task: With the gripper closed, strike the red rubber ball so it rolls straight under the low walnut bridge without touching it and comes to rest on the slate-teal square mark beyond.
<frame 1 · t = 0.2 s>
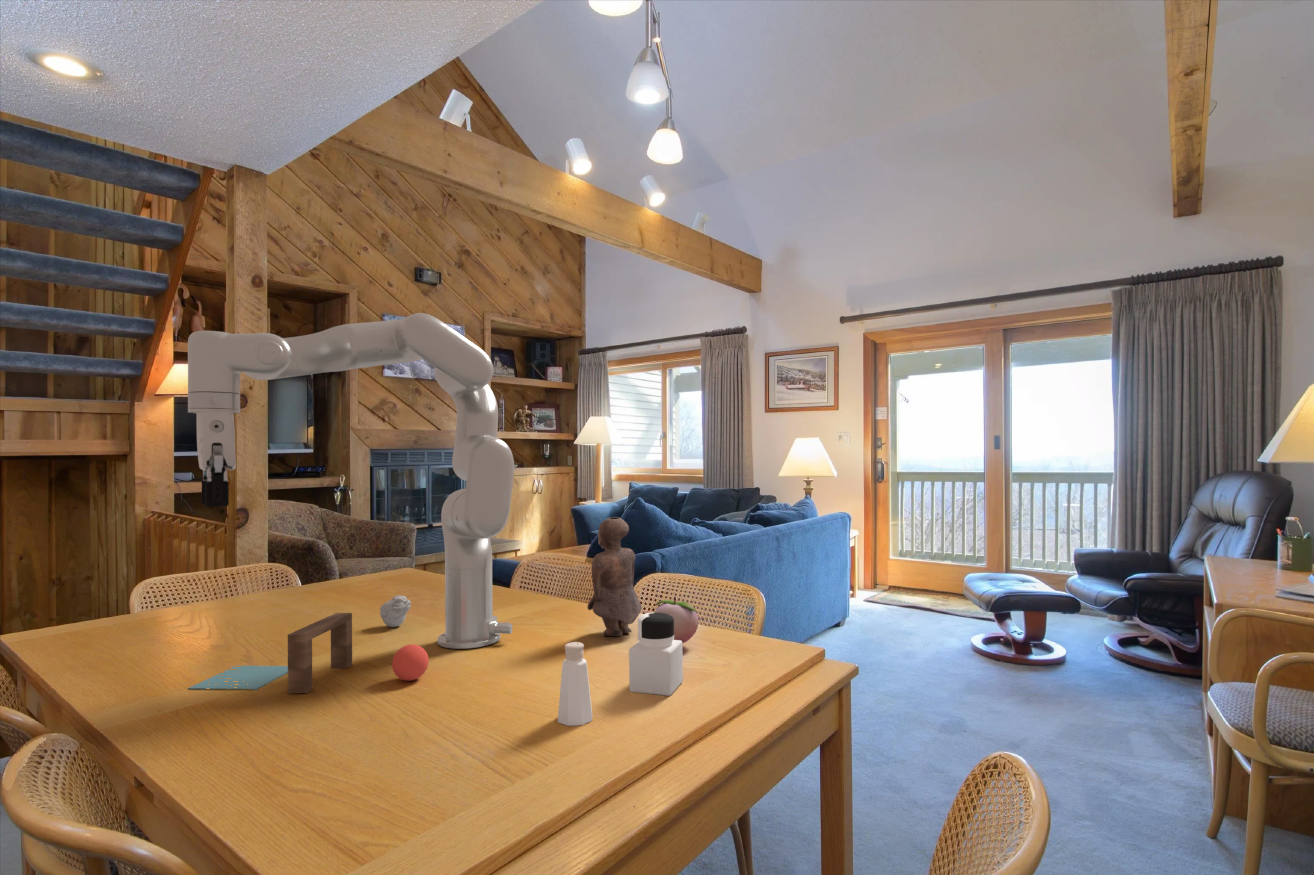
hand: (214, 504, 118), 31 cm above the table, tool pointing down, fingers open, 9 cm apart
decorative fruit: (675, 648, 138), on the table
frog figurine: (395, 627, 156), on the table
medicine bottle: (656, 688, 115), on the table
ball: (410, 662, 120), on the table
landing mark: (245, 677, 122), on the table
pepper shaker: (575, 720, 102), on the table
clay figurine: (616, 635, 147), on the table
bridge: (322, 678, 121), on the table
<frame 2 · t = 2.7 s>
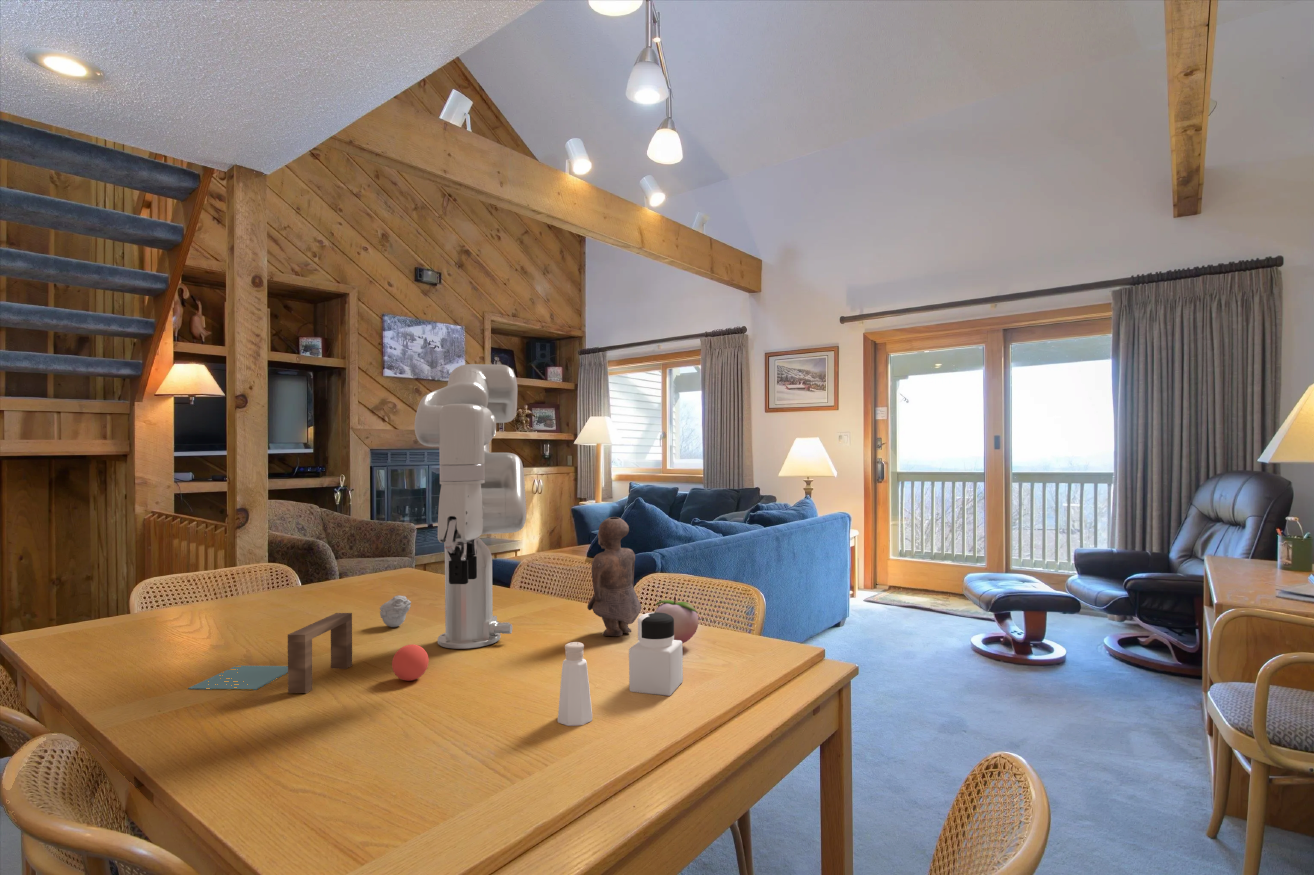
hand: (463, 580, 119), 17 cm above the table, tool pointing down, fingers open, 3 cm apart
nothing on the table moved.
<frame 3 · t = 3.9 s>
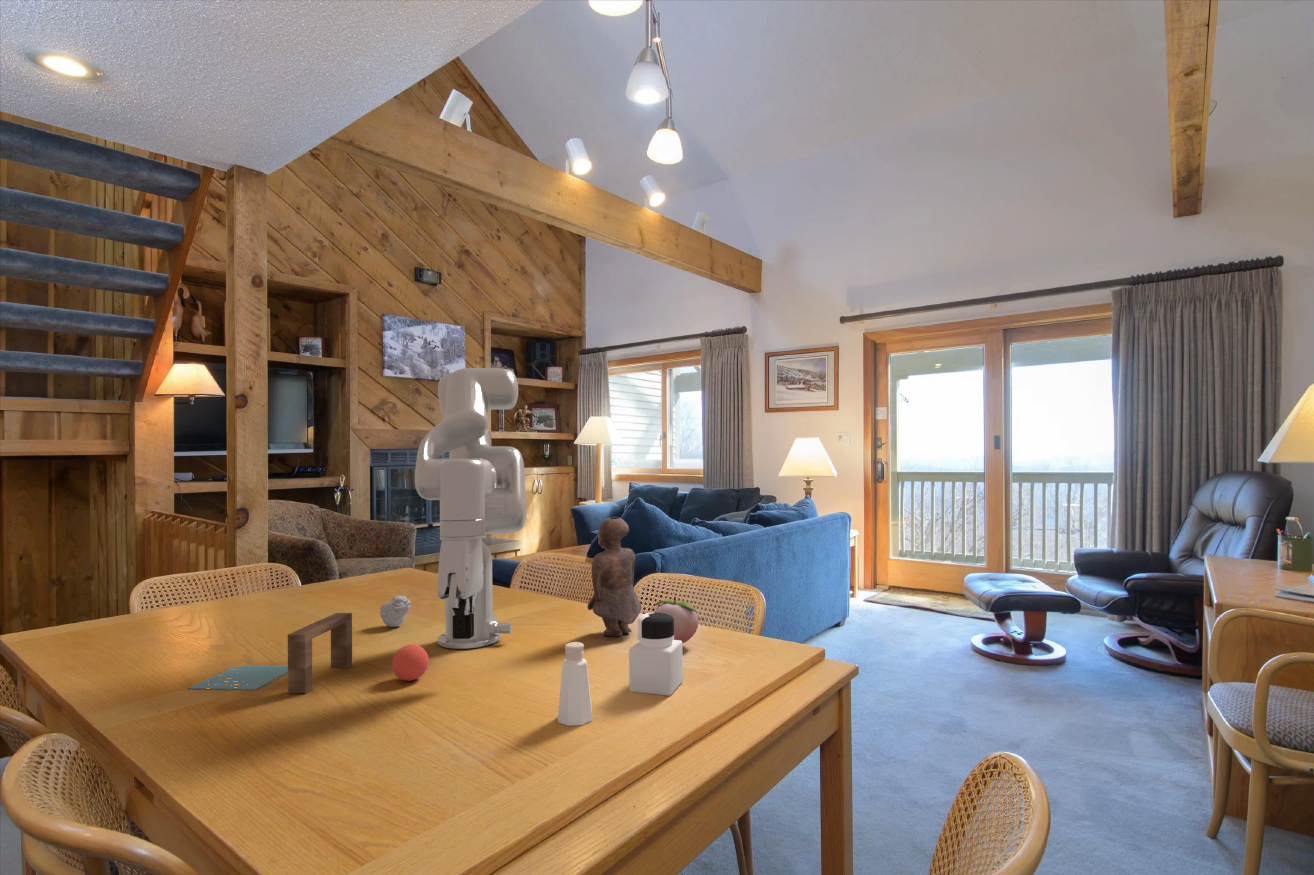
hand: (463, 637, 118), 8 cm above the table, tool pointing down, fingers closed
nothing on the table moved.
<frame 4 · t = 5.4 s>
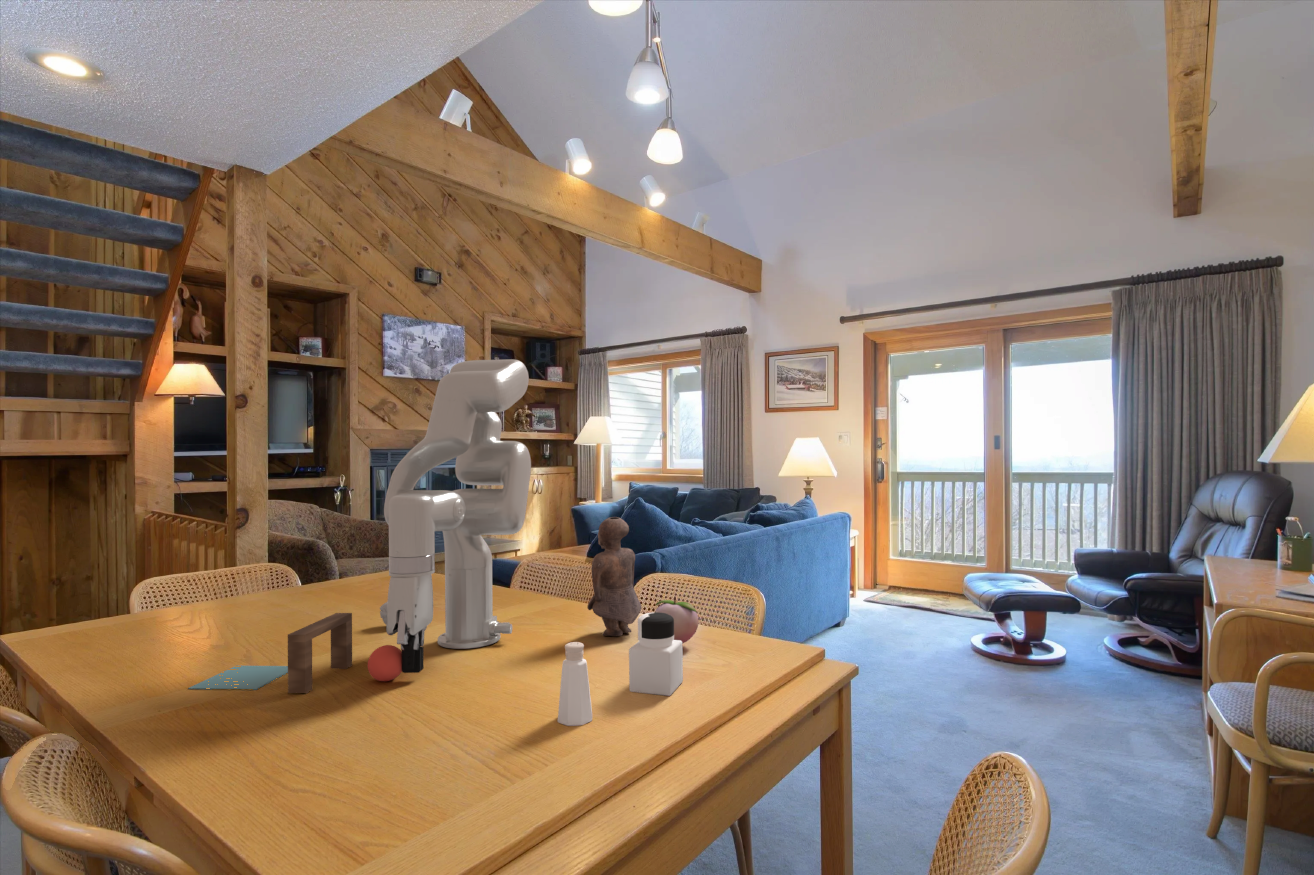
hand: (412, 670, 120), 2 cm above the table, tool pointing down, fingers closed
ball: (386, 662, 120), on the table
everything else where it was.
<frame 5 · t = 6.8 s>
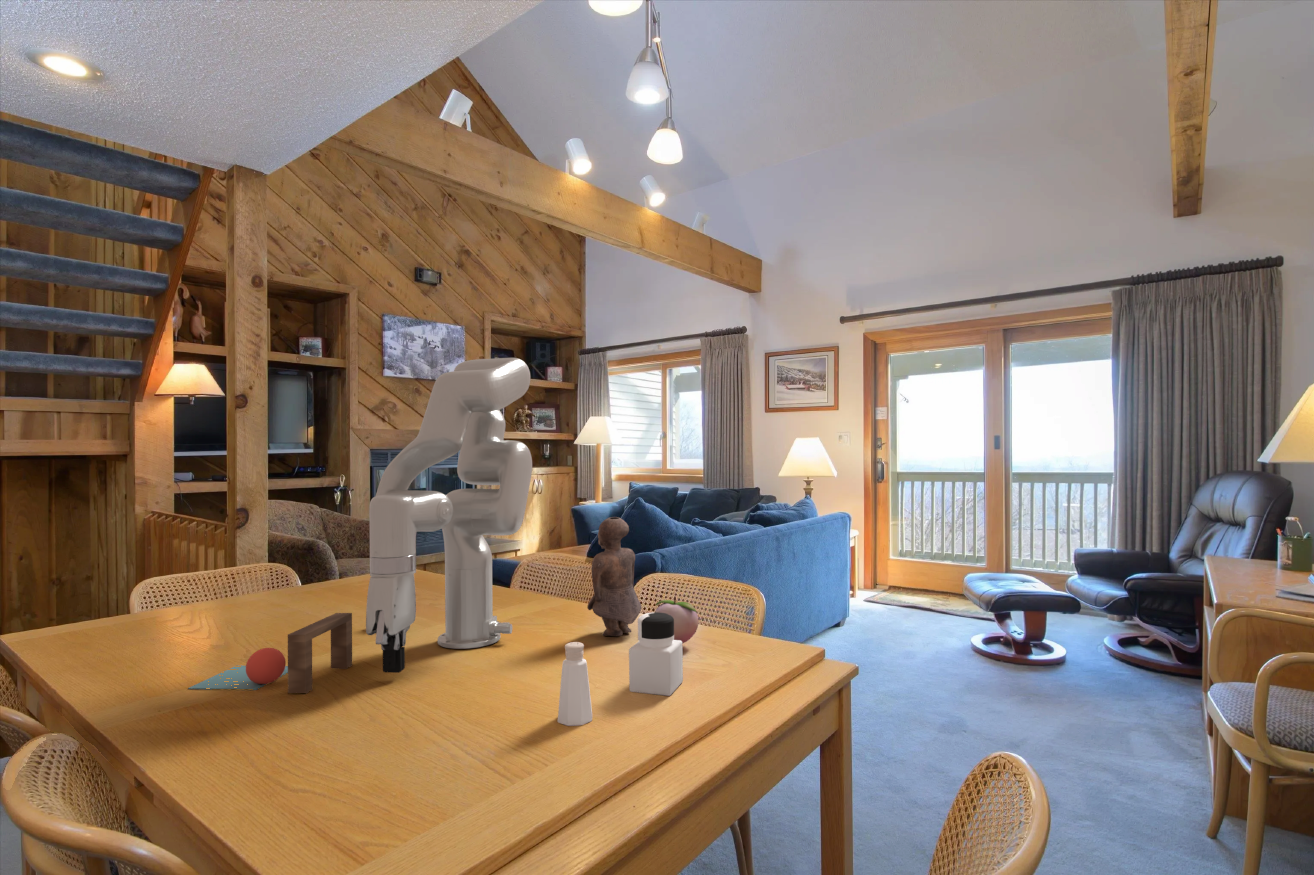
hand: (393, 670, 120), 2 cm above the table, tool pointing down, fingers closed
ball: (265, 665, 119), on the table
everything else where it was.
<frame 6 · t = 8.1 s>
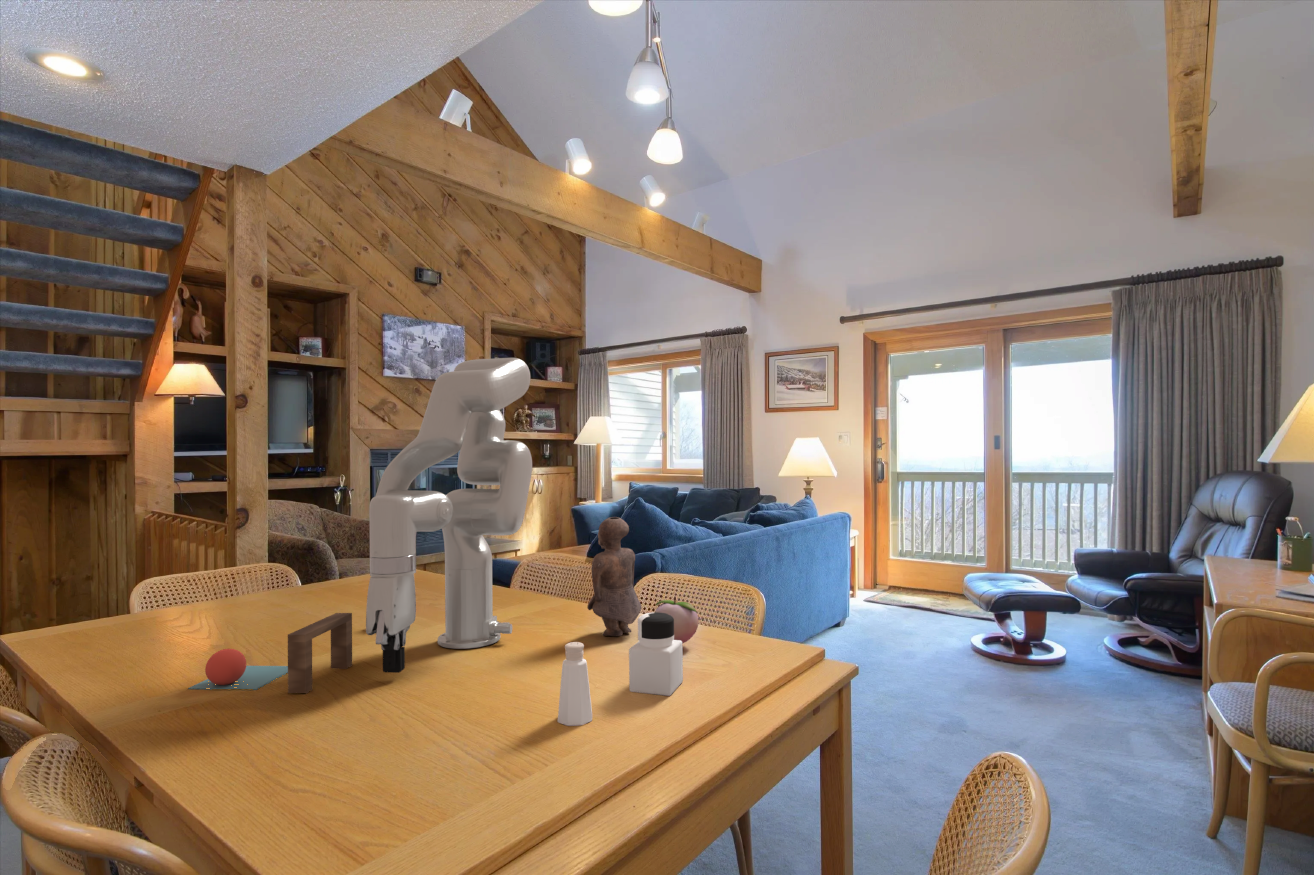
hand: (393, 670, 120), 2 cm above the table, tool pointing down, fingers closed
ball: (226, 666, 119), on the table
everything else where it was.
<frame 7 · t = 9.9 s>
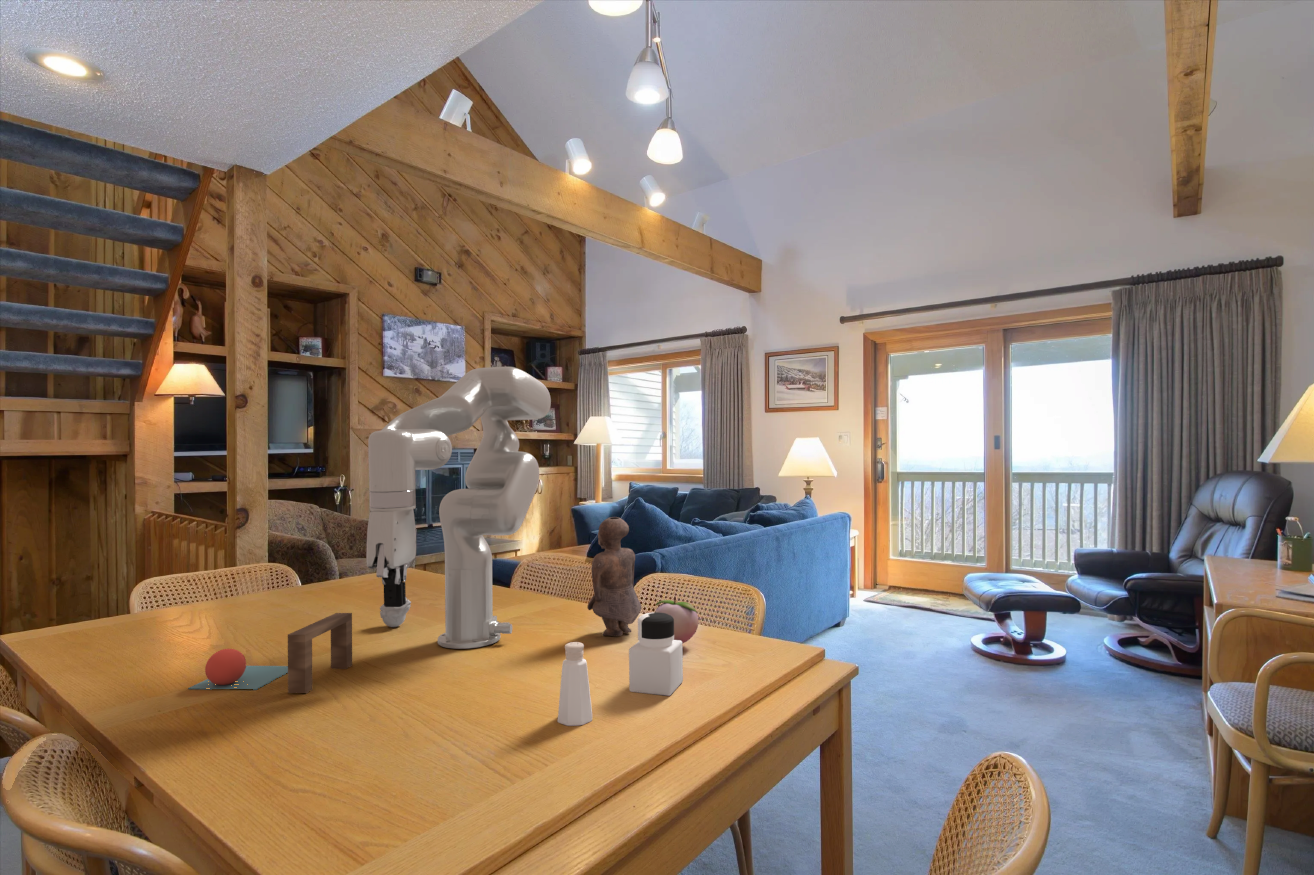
hand: (395, 605, 121), 13 cm above the table, tool pointing down, fingers closed
nothing on the table moved.
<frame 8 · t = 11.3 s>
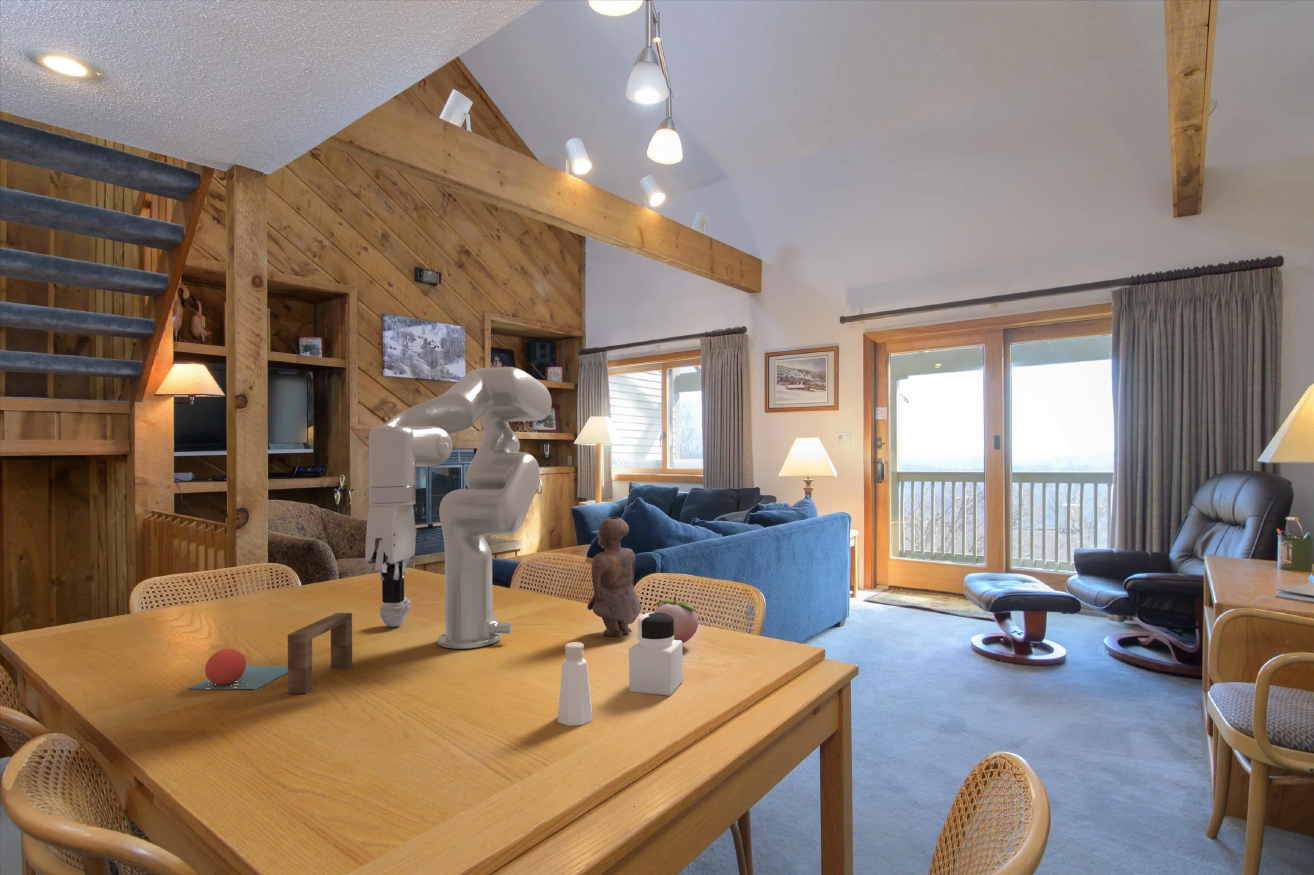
hand: (393, 601, 120), 13 cm above the table, tool pointing down, fingers closed
nothing on the table moved.
at the end: ball 3.6 cm from the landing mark (horizontally); ball never touched bridge; ball at rest at the end (0.0 cm/s) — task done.
